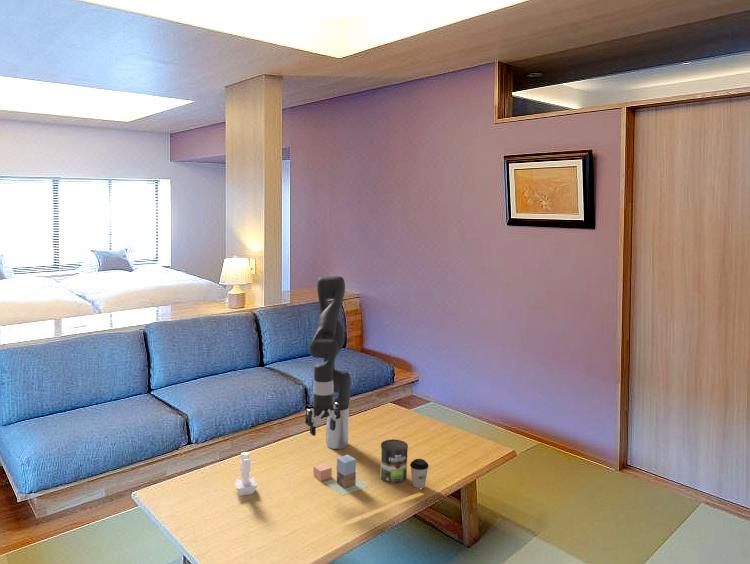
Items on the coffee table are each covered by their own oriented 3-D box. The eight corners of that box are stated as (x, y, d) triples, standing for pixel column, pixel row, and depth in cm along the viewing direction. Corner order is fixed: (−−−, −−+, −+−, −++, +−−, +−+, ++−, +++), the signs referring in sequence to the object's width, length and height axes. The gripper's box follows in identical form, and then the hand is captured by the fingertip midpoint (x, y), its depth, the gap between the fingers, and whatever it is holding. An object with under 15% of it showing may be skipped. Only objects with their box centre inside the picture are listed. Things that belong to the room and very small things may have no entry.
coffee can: (410, 484, 217) (411, 449, 215) (384, 487, 215) (385, 451, 212) (402, 471, 227) (403, 438, 225) (376, 474, 224) (377, 440, 222)
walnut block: (336, 483, 215) (337, 470, 214) (347, 479, 218) (347, 467, 217) (344, 488, 211) (344, 475, 210) (355, 484, 214) (355, 472, 213)
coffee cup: (405, 485, 216) (406, 460, 215) (418, 480, 220) (419, 455, 219) (418, 493, 211) (419, 467, 209) (431, 487, 215) (432, 462, 214)
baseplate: (323, 484, 215) (323, 482, 215) (349, 475, 223) (349, 473, 223) (342, 498, 206) (342, 495, 206) (368, 488, 213) (368, 485, 213)
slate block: (336, 470, 214) (336, 457, 213) (347, 467, 217) (347, 454, 216) (344, 475, 210) (344, 462, 209) (355, 472, 213) (355, 459, 213)
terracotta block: (313, 478, 220) (313, 466, 220) (324, 475, 223) (324, 462, 223) (320, 483, 216) (320, 471, 216) (331, 480, 219) (331, 467, 219)
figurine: (253, 484, 215) (253, 446, 212) (257, 496, 206) (257, 457, 204) (233, 487, 212) (233, 449, 210) (237, 500, 203) (236, 460, 201)
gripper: (312, 397, 208) (312, 440, 210) (344, 390, 216) (344, 431, 219) (301, 392, 213) (301, 433, 216) (333, 385, 222) (333, 425, 224)
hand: (322, 432), depth 217 cm, fingers open, 8 cm apart
